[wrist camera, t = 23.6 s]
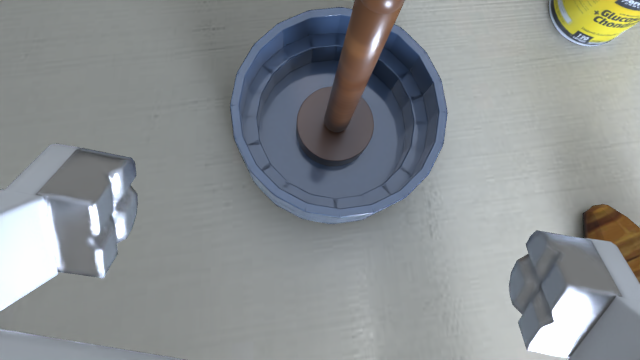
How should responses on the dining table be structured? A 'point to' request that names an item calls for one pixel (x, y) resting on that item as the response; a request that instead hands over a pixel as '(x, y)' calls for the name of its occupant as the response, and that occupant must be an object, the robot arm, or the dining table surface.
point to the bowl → (319, 72)
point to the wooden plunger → (347, 89)
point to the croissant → (614, 233)
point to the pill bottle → (593, 19)
